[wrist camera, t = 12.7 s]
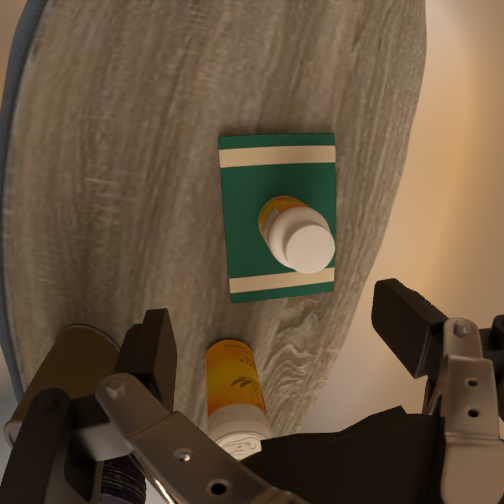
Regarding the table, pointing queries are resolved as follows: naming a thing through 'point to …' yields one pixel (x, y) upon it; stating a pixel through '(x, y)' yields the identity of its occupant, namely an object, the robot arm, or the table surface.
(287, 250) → the supplement bottle
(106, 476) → the dark cylinder
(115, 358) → the canister
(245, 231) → the towel
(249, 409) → the beer can
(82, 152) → the table surface
